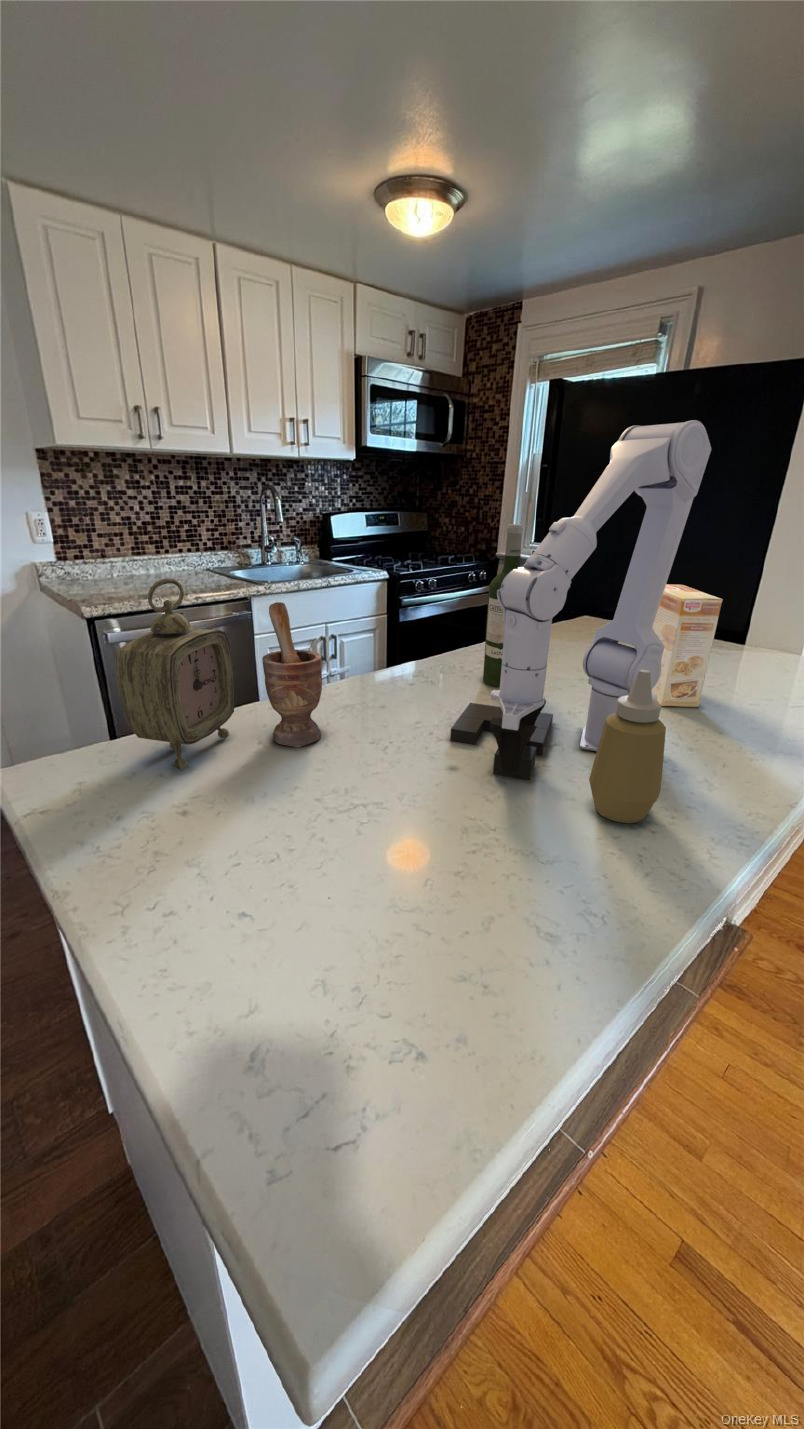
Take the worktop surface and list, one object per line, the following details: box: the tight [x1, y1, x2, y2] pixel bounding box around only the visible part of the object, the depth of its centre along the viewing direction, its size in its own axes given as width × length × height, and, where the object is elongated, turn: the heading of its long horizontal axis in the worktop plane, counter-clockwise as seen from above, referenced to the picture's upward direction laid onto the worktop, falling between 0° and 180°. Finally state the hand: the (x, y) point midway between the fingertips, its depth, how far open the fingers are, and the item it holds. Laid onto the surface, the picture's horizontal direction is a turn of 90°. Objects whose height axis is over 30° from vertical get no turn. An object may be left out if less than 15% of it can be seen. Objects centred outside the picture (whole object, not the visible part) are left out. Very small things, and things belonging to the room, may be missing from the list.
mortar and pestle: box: [261, 601, 323, 749], centre depth 86 cm, size 12×9×20 cm
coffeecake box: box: [651, 583, 724, 708], centre depth 105 cm, size 15×7×20 cm, turn 179°
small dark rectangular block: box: [492, 746, 537, 781], centre depth 78 cm, size 5×4×3 cm
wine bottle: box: [482, 523, 524, 688], centre depth 108 cm, size 8×8×30 cm
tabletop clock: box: [114, 578, 236, 771], centre depth 79 cm, size 14×9×25 cm, turn 164°
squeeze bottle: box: [588, 670, 667, 824], centre depth 66 cm, size 8×8×18 cm
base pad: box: [449, 702, 554, 756], centre depth 90 cm, size 14×12×2 cm
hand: (514, 758), depth 78 cm, fingers open, 7 cm apart
